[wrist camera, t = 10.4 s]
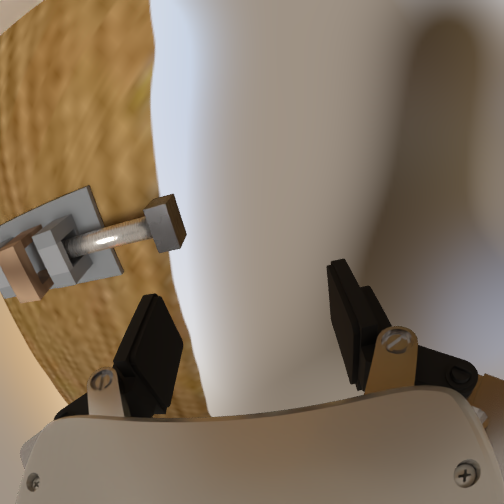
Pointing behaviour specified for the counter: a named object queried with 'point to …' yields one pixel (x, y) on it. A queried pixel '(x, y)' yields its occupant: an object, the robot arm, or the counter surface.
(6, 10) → the milk
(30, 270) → the block
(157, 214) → the shaft
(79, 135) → the counter surface
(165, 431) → the robot arm
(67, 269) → the bearing block
